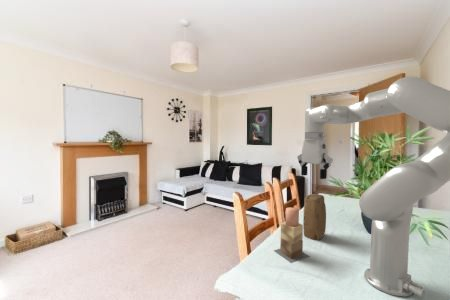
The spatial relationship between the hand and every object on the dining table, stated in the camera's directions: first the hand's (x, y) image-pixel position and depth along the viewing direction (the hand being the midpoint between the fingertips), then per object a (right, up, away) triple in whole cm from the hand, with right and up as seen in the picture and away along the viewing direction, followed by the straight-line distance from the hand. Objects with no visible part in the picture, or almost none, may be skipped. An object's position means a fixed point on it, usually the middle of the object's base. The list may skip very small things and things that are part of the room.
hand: (313, 176), depth 91 cm
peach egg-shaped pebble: (-11, -18, -6) cm, 22 cm away
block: (+5, -30, +11) cm, 32 cm away
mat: (-11, -31, -5) cm, 33 cm away
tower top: (-11, -24, -6) cm, 27 cm away
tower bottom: (-11, -30, -5) cm, 33 cm away
